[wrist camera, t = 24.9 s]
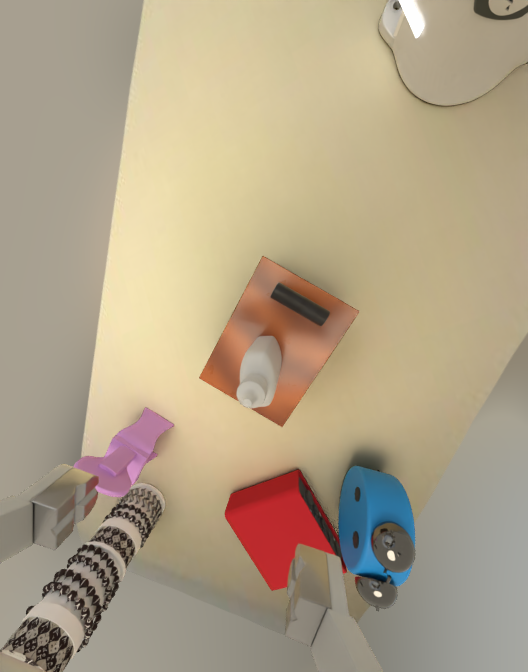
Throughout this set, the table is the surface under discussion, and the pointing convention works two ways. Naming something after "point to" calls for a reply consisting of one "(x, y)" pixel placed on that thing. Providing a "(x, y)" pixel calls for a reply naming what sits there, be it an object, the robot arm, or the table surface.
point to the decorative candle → (86, 584)
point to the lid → (280, 335)
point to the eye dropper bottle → (259, 373)
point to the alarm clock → (376, 534)
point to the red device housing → (280, 525)
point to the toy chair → (126, 455)
